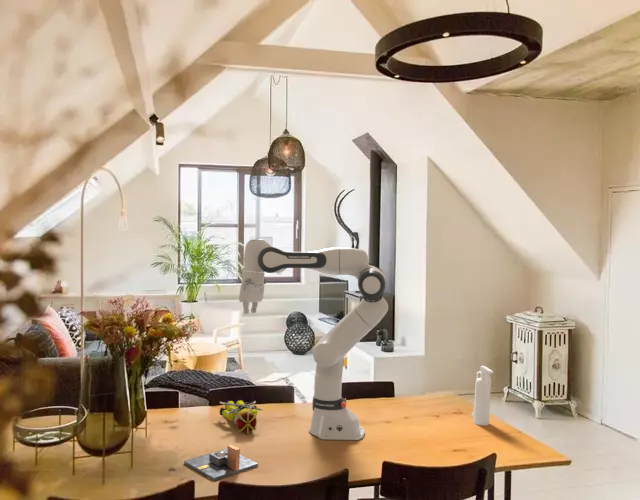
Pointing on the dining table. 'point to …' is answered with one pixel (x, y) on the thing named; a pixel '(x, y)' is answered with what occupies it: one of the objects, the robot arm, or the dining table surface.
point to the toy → (241, 414)
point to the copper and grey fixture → (227, 458)
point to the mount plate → (217, 471)
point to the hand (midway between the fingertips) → (249, 313)
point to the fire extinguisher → (482, 397)
